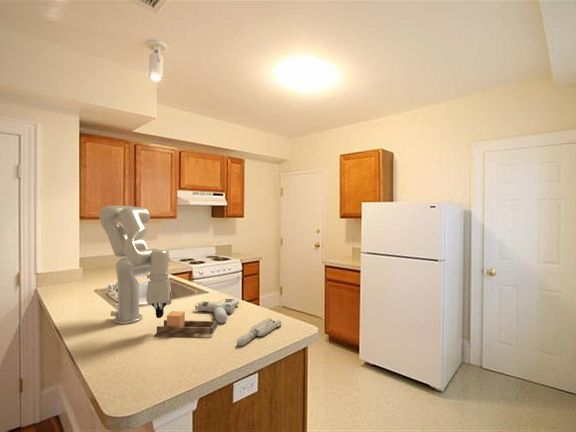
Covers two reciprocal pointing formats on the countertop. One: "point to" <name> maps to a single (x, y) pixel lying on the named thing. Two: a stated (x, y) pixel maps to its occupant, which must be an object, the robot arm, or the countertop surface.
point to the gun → (218, 308)
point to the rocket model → (258, 330)
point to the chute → (188, 329)
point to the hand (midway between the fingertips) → (159, 317)
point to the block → (176, 319)
